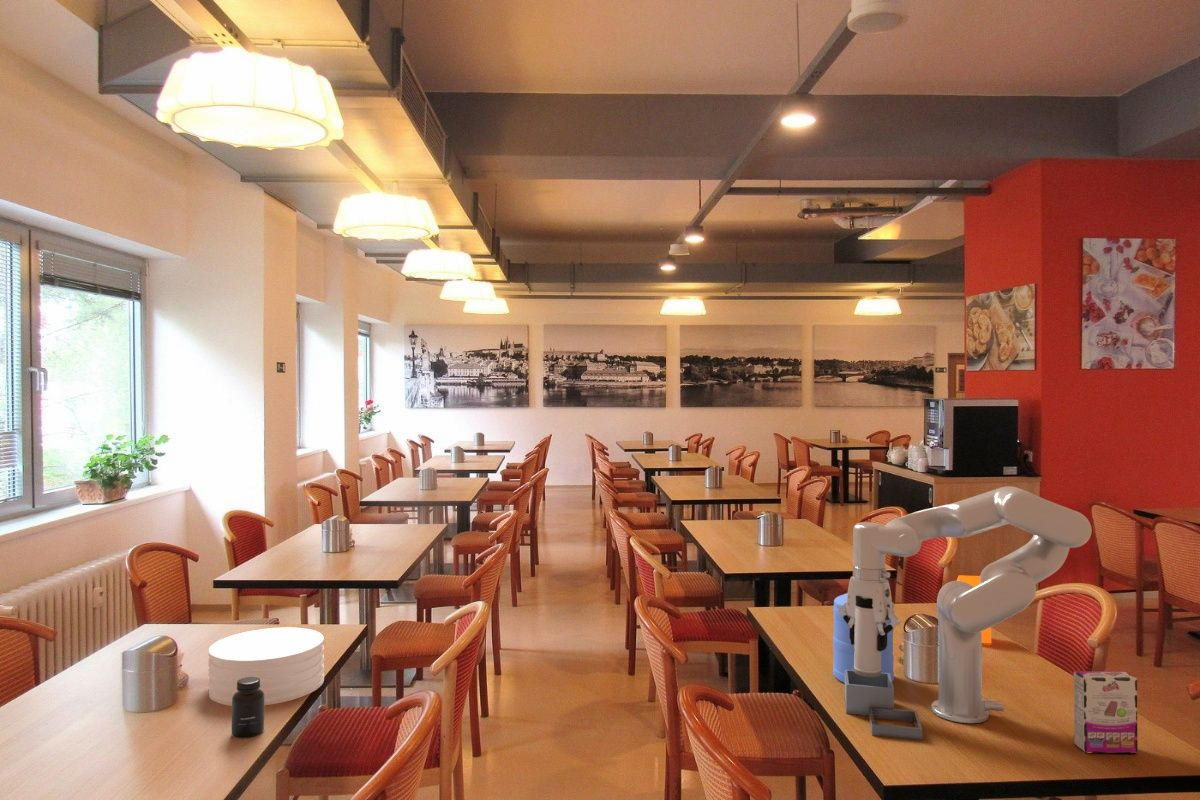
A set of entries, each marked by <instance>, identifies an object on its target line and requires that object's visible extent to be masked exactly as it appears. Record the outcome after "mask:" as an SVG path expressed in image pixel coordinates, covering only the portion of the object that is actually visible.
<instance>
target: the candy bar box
mask: <svg viewBox="0 0 1200 800" xmlns="http://www.w3.org/2000/svg"><path fill="white" fill-rule="evenodd" d="M1073 715H1074V716H1073V723H1074V725H1073V727H1074V728H1073V729H1074V730H1073V732H1074V734H1073V735H1074V737H1073V738H1074V739H1073V741H1074V742H1073V743H1074V745H1075V744H1076V745H1077V746H1078V747H1079V749H1080V748H1081V749H1082V750H1083V751H1084V752H1083V751H1082V750H1081V749H1080V750H1081V751H1082V752H1083V753H1085V752H1092V753H1139V752H1138V749H1139V748H1138V679H1137V677H1135V676H1134V675H1132V674H1130V673H1128V672H1127V671H1123V670H1122V671H1115V670H1114V671H1109V670H1108V671H1105V670H1103V671H1098V670H1095V671H1093V670H1091V671H1089V670H1086V671H1084V670H1083V671H1081V670H1079V671H1078V670H1074V671H1073ZM1076 745H1075V746H1076ZM1077 746H1076V747H1077ZM1078 747H1077V748H1078Z"/></svg>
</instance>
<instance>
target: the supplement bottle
mask: <svg viewBox="0 0 1200 800" xmlns="http://www.w3.org/2000/svg"><path fill="white" fill-rule="evenodd" d="M259 688H260V679H259V678H258V677H246V678H242V679H240V680H238V681H237V692H236V693H235V694H234V695H233V697H232V706H231V735H232V737H234V738H238V739H249V738H253V737H256V736H258V735H261V734H262V733H263V731H264V730H265V705H264V692H263V691H262V690H261V689H259Z"/></svg>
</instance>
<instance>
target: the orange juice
mask: <svg viewBox="0 0 1200 800" xmlns="http://www.w3.org/2000/svg"><path fill="white" fill-rule="evenodd" d="M956 581H963V582H966V583H968V584H970V585H972V586H973V587H975V586H977V585H979V584H981V583H980V575H962V574H961V575H958V577H957V579H956ZM982 643H991V644H992V627H990V628H988V629H986V630H984V631H982Z"/></svg>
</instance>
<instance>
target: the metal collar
mask: <svg viewBox="0 0 1200 800" xmlns="http://www.w3.org/2000/svg"><path fill="white" fill-rule="evenodd" d="M874 718H877V719H876V720H884V719H887V721H896V722H897V721H898V722H907V723H913V725H914V727H912V726H903V725H902V726H901V725H892V724H884V723H883V724H882V723H875V719H874ZM868 720H869V725H870V731H871V736H874V737H876V736H877V737H884V738H895V739H903V740H913V741H914V740H915V741H923V727H922V724H921V721H920V718H919V715H918V711H917V710H909V709H900V708H899V709H898V708H894V709H889V708H879V707H869V716H868Z"/></svg>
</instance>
